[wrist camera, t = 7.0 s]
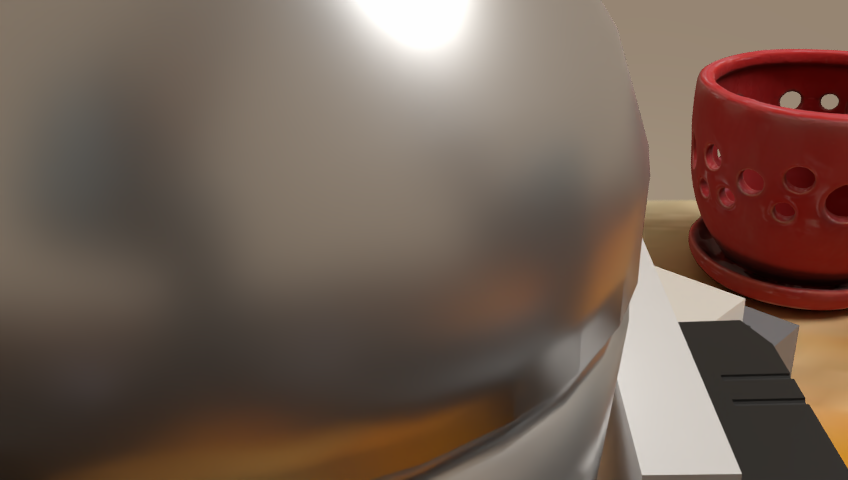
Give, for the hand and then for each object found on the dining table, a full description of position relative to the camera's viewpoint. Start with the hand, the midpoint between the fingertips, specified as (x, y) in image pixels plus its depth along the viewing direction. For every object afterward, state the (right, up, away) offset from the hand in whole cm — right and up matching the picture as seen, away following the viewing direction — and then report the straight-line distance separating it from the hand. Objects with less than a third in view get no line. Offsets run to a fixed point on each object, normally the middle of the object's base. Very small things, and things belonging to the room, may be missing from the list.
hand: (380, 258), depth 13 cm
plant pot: (+23, -2, +32) cm, 40 cm away
